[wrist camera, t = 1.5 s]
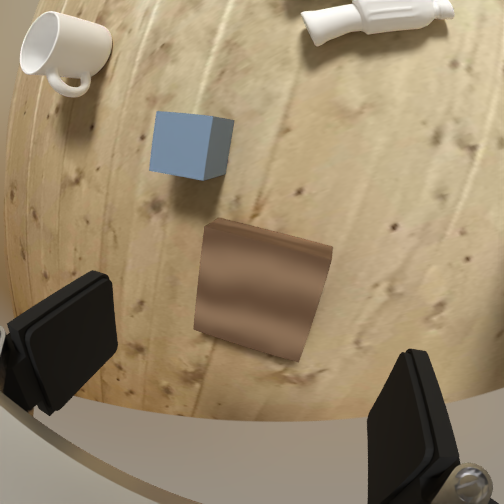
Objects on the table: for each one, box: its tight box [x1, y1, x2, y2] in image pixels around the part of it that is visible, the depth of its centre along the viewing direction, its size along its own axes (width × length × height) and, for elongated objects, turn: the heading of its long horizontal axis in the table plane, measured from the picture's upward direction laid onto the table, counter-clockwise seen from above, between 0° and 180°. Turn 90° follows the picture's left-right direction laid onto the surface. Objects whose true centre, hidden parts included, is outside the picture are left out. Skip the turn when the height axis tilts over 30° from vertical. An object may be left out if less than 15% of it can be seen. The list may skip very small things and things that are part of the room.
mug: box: [20, 11, 112, 97], centre depth 28 cm, size 12×8×10 cm
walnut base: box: [194, 218, 333, 362], centre depth 35 cm, size 13×13×4 cm
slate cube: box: [149, 111, 234, 181], centre depth 30 cm, size 6×6×6 cm
